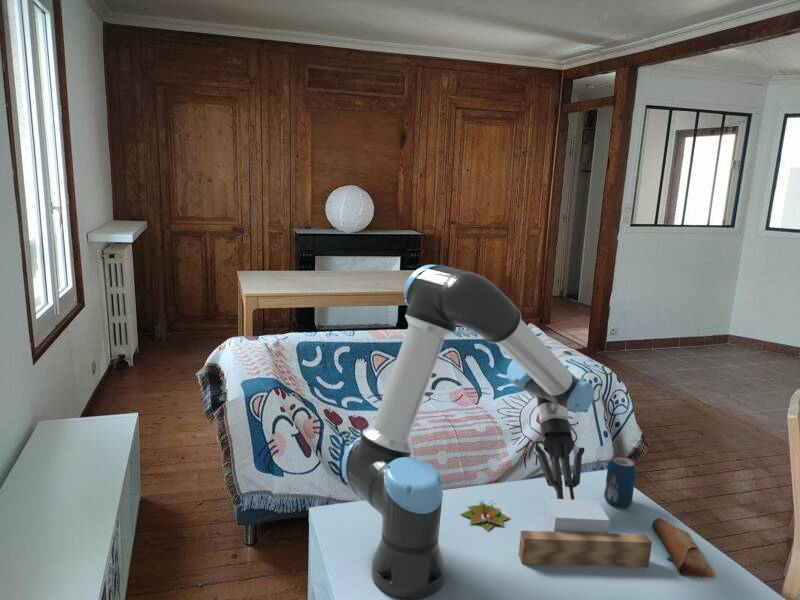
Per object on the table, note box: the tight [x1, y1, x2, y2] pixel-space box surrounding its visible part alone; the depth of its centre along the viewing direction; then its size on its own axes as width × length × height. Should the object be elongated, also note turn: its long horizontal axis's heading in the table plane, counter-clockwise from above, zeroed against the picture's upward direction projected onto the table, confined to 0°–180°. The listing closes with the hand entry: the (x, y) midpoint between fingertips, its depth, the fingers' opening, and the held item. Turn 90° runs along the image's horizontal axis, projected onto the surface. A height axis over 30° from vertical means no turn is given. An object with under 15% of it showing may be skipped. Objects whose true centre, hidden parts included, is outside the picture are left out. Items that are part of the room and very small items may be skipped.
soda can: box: [603, 455, 637, 509], centre depth 150 cm, size 7×7×12 cm
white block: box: [542, 497, 610, 533], centre depth 131 cm, size 12×8×9 cm, turn 90°
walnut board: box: [518, 530, 653, 568], centre depth 126 cm, size 28×3×6 cm, turn 92°
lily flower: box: [460, 499, 511, 532], centre depth 141 cm, size 12×12×5 cm
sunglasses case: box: [651, 517, 717, 579], centre depth 131 cm, size 18×7×7 cm, turn 175°
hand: (568, 515), depth 137 cm, fingers closed
